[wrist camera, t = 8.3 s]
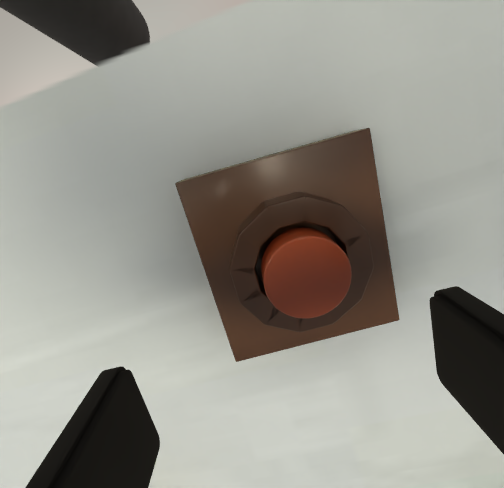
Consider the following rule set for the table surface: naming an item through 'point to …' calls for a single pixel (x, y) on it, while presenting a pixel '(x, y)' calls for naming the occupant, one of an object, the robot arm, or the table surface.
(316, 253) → the red short cylinder
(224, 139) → the table surface
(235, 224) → the brown square block
